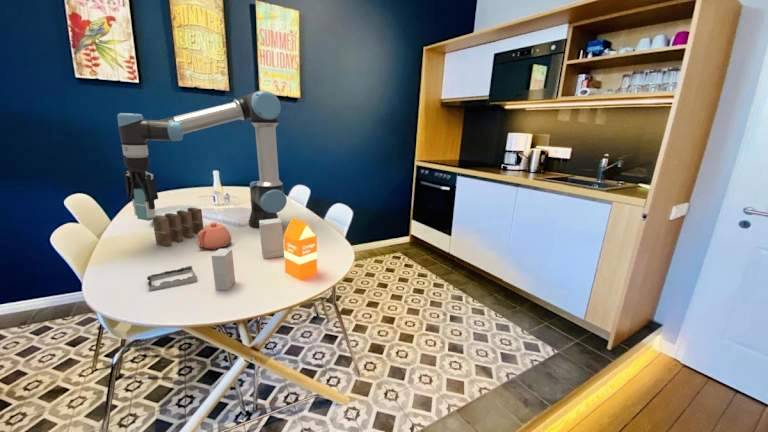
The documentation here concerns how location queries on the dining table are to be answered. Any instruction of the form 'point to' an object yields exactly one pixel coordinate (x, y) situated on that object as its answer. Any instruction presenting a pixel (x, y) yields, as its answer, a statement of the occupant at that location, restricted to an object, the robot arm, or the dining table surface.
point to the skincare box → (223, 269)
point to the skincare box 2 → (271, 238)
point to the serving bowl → (171, 209)
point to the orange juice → (300, 250)
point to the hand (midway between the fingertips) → (145, 215)
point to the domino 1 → (141, 204)
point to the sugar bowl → (214, 236)
